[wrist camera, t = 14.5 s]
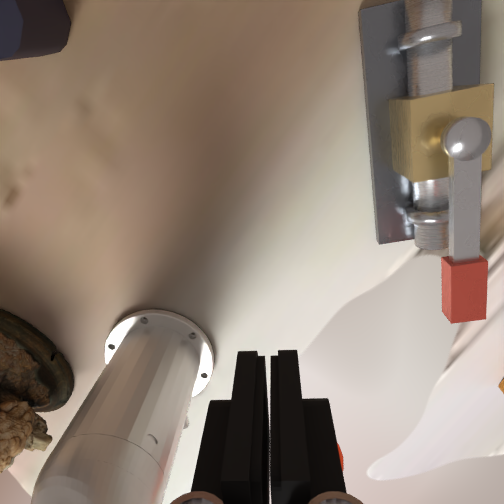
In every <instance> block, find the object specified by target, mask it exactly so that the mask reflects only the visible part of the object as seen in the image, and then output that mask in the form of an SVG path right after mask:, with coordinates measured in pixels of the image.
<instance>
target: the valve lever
mask: <svg viewBox="0 0 504 504" xmlns="http://www.w3.org/2000/svg"><path fill="white" fill-rule="evenodd" d="M491 136H492V135H491V129H490V126H489V125H488V123H487V122H486V121H484V120H483V119H481V118H476V117H468V116H463V117H458V118H456V119H454V120H452V121H451V122H449V123H448V124H447V125H446V127H445V128H444V129H443V131H442V133H441V137H440V146H441V149H442V151H443V152H444V153H445V154H446V155H447V156H448V163H449V256H447V257H441V261H442V262H441V264H442V312H443V313H444V315H445V316H446V317H447V319H448V320H449V321H450V322H451V323H459V322H467V321H475V320H483V319H486V304H487V275H488V261H487V260H486V259H484V258H483V257H482V256H480V255H479V250H480V210H481V171H482V154H483V153H484V152H485V151H486V149H487V148H488V146H489V144H490V141H491Z"/></svg>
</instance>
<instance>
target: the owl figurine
mask: <svg viewBox="0 0 504 504" xmlns="http://www.w3.org/2000/svg"><path fill="white" fill-rule="evenodd" d="M55 351H56V348H55V346H54V344H53V343H52V342H51V341H50V340H49V339H48V338H47V337H46V336H45V335H43V334H42V333H41V332H39V331H38V330H37V329H35V328H34V327H33V326H32V325H30V324H29V323H27V322H26V321H24V320H22V319H20V318H18V317H16V316H14V315H13V314H11V313H8V312H6V311H4V310H1V309H0V474H1V473H2V471H3V470H6V469H8V468H9V467H10V466H12V464H13V462H14V458H15V457H16V456H17V455H19V454H20V453H21V452H22V451H23V449H27V450H30V451H33V450H34V449H38V450H42V451H45V450H46V448H47V446H48V445H49V444H50V443H51V442H52V436H51V435H47V434H46V432H47V430H48V428H47V425H46V421H45V420H44V419H43V418H42V417H40V416H39V415H38V414H36V413H35V412H50V411H54V410H56V409H59V408H61V407H62V406H64V405H65V404H66V403H67V401H68V400H69V398H70V396H71V395H72V391H73V386H74V385H73V383H74V381H73V374H72V371H71V368H70V366H69V364H68V363H67V362H66V361H65V360H64V357H63V355H62V354H61V353H58V354H56V355H55V357H54V360H53V361H51V353H52V352H55Z"/></svg>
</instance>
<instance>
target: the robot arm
mask: <svg viewBox="0 0 504 504" xmlns="http://www.w3.org/2000/svg"><path fill="white" fill-rule="evenodd" d="M104 356H105V361H106V367H105V368H104V370H103V372H102V373H101V375H100V376H99V378H98V380H97V381H96V383H95V384H94V386H93V388H92V389H91V391H90V392H89V394H88V396H87V397H86V399H85V400H84V402H83V404H82V405H81V407H80V408H79V410H78V411H77V413H76V415H75V416H74V418H73V419H72V421H71V423H70V424H69V426H68V427H67V429H66V431H65V432H64V434H63V435H62V437H61V439H60V440H59V442H58V443H57V445H56V447H55V448H54V450H53V451H52V452H51V454H50V456H49V457H48V459H47V461H46V462H45V464H44V466H43V467H42V469H41V471H40V473H39V475H38V478H37V480H36V483H35V486H34V490H33V494H32V500H31V504H162V502H163V498H164V494H165V491H166V488H167V484H168V480H169V477H170V473H171V470H172V466H173V462H174V459H175V455H176V452H177V448H178V444H179V441H180V437H181V434H182V430H183V429H185V428H187V427H188V426H189V420H188V417H187V412H188V408H189V405H190V401H191V398H192V397H194V396H195V395H197V394H198V393H200V392H201V391H202V390H203V389H204V388H205V387H206V385H207V384H208V382H209V380H210V378H211V375H212V372H213V366H214V353H213V349H212V346H211V344H210V342H209V340H208V338H207V336H206V335H205V334H204V332H203V331H202V330H201V329H200V328H199V327H198V326H197V325H196V324H194V323H193V322H192V321H190V320H188V319H187V318H185V317H183V316H181V315H179V314H176V313H174V312H169V311H165V310H155V309H151V310H142V311H138V312H135V313H132V314H130V315H128V316H126V317H124V318H123V319H122V320H121V321H119V322H118V323H117V324H116V325H115V327H114V328H113V329H112V331H111V332H110V334H109V336H108V337H107V340H106V343H105V350H104ZM270 394H271V396H270V399H271V400H270V430H269V414H268V398H267V382H266V366H265V356H258V353H257V351H238V354H237V362H236V369H235V376H234V384H233V391H232V398H231V400H211V401H210V403H209V407H208V411H207V416H206V421H205V426H204V431H203V435H202V440H201V445H200V450H199V455H198V459H197V464H196V469H195V474H194V479H193V483H192V488H191V492H190V493H187V494H183V495H182V496H180V497H178V498H177V499H175V500H173V501H172V502H171V503H170V504H269V481H270V483H271V484H270V485H271V502H272V504H363V503H362V502H361V501H360V500H358V499H357V498H355V497H353V496H352V495H350V494H347V493H346V487H345V482H344V477H343V472H342V466H341V461H340V456H339V451H338V445H337V440H336V435H335V430H334V424H333V419H332V414H331V409H330V404H329V400H328V399H327V398H323V399H302V394H301V383H300V374H299V364H298V354H297V350H278V356H271V388H270ZM269 470H270V471H269ZM269 478H270V479H269Z"/></svg>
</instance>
